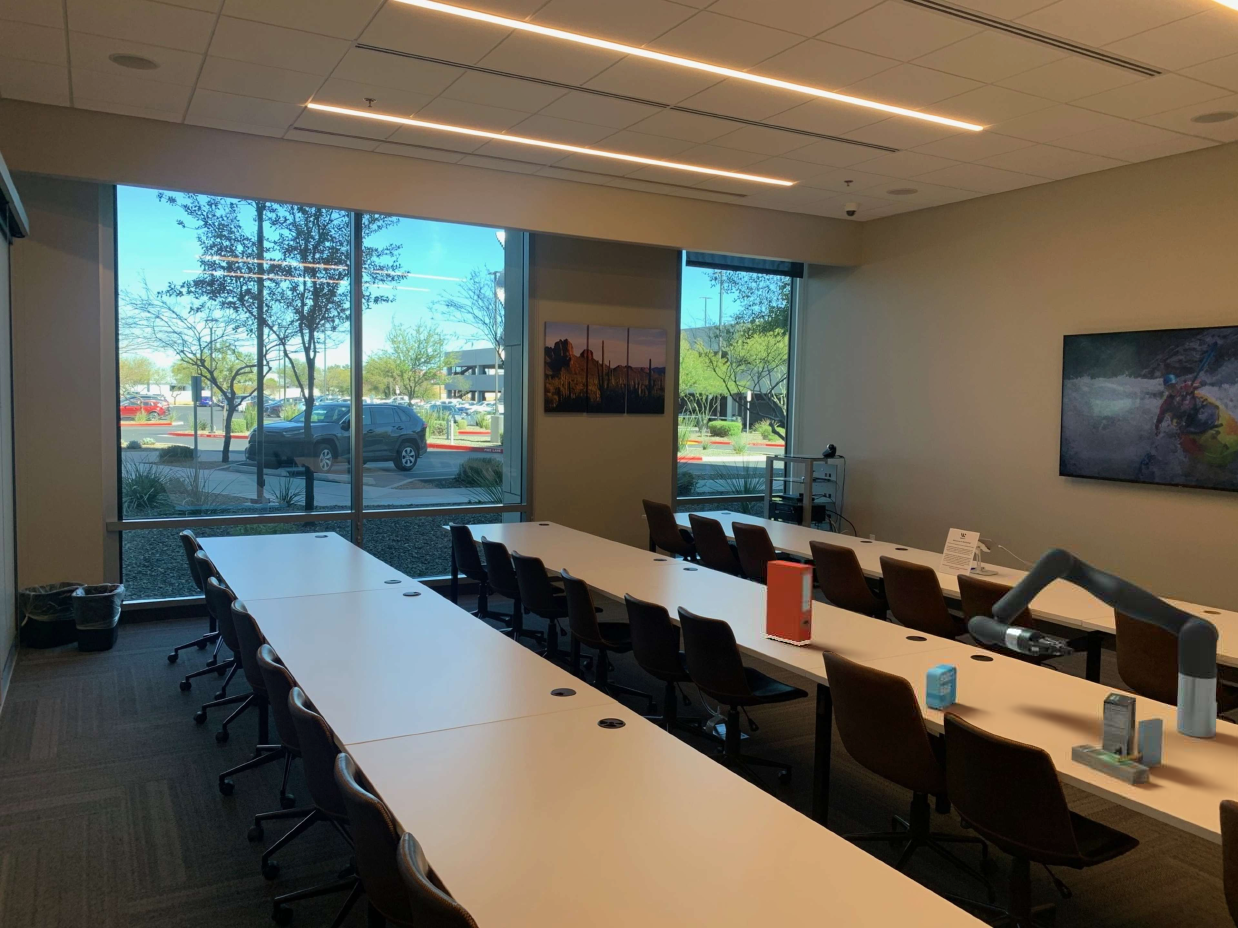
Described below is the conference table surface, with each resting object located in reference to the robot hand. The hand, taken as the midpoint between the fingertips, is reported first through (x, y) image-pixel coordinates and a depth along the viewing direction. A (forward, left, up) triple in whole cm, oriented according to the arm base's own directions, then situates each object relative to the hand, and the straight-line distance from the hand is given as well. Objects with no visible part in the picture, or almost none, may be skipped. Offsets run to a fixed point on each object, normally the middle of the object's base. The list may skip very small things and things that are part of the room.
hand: (1072, 652), depth 260 cm
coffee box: (+4, +19, -24) cm, 31 cm away
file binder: (+19, -120, -24) cm, 124 cm away
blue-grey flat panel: (+9, +28, -22) cm, 37 cm away
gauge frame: (+15, +25, -23) cm, 37 cm away
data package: (+18, -33, -24) cm, 45 cm away
